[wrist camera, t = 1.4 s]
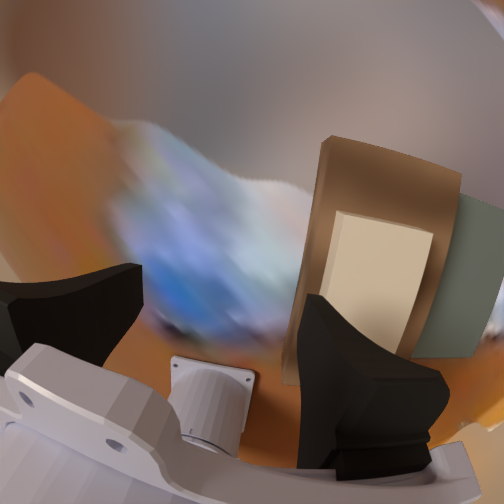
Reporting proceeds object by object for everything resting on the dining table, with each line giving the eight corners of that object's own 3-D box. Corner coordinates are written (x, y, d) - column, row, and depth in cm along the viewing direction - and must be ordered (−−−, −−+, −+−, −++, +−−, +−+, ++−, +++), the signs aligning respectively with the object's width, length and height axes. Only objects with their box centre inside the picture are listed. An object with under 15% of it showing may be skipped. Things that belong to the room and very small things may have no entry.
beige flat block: (383, 345, 19) (391, 360, 17) (307, 338, 19) (310, 354, 17) (418, 227, 17) (433, 233, 15) (336, 210, 17) (344, 214, 15)
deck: (382, 363, 24) (394, 389, 20) (281, 355, 24) (281, 384, 20) (435, 172, 19) (461, 173, 15) (321, 143, 20) (331, 135, 16)
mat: (470, 355, 23) (471, 357, 23) (385, 355, 24) (386, 357, 23) (515, 215, 19) (517, 216, 19) (433, 184, 19) (435, 184, 19)
